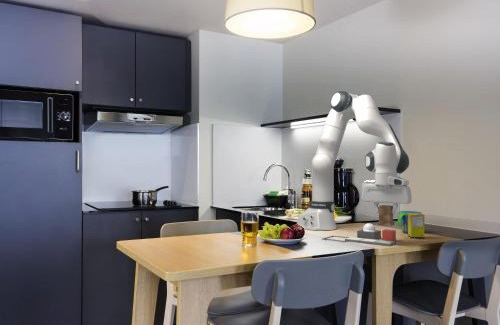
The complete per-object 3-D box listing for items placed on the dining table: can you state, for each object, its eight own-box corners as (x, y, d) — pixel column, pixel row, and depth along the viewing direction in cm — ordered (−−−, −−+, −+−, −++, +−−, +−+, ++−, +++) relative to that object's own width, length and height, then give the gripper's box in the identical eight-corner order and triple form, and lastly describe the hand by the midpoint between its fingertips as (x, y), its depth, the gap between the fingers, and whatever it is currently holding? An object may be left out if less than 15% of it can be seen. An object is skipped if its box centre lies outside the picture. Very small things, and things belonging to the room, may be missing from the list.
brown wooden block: (377, 225, 189) (377, 205, 189) (382, 223, 193) (382, 205, 193) (390, 226, 186) (390, 206, 186) (394, 224, 190) (394, 205, 190)
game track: (344, 241, 195) (344, 239, 195) (352, 238, 202) (352, 236, 202) (389, 246, 184) (389, 243, 184) (396, 243, 190) (396, 241, 190)
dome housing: (357, 238, 202) (357, 230, 202) (363, 236, 209) (363, 228, 209) (374, 240, 198) (374, 232, 198) (380, 238, 204) (381, 230, 204)
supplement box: (420, 236, 210) (421, 213, 210) (424, 238, 204) (424, 214, 204) (407, 236, 210) (407, 212, 210) (410, 238, 204) (411, 214, 204)
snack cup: (405, 235, 215) (405, 213, 215) (390, 232, 225) (390, 211, 225) (430, 233, 222) (430, 212, 222) (414, 230, 231) (414, 210, 231)
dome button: (361, 235, 203) (361, 223, 203) (365, 234, 207) (365, 222, 207) (372, 237, 200) (372, 224, 200) (376, 235, 204) (376, 223, 204)
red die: (382, 240, 198) (382, 230, 198) (385, 239, 201) (385, 228, 201) (392, 241, 195) (392, 230, 195) (395, 240, 199) (395, 229, 199)
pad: (321, 239, 200) (321, 238, 200) (332, 236, 209) (332, 235, 209) (345, 241, 193) (345, 241, 193) (355, 238, 202) (355, 237, 202)
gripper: (359, 180, 193) (359, 212, 193) (408, 181, 181) (408, 215, 181) (364, 179, 198) (364, 211, 198) (412, 180, 186) (412, 214, 186)
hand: (386, 213), depth 189 cm, fingers closed on brown wooden block, 4 cm apart
